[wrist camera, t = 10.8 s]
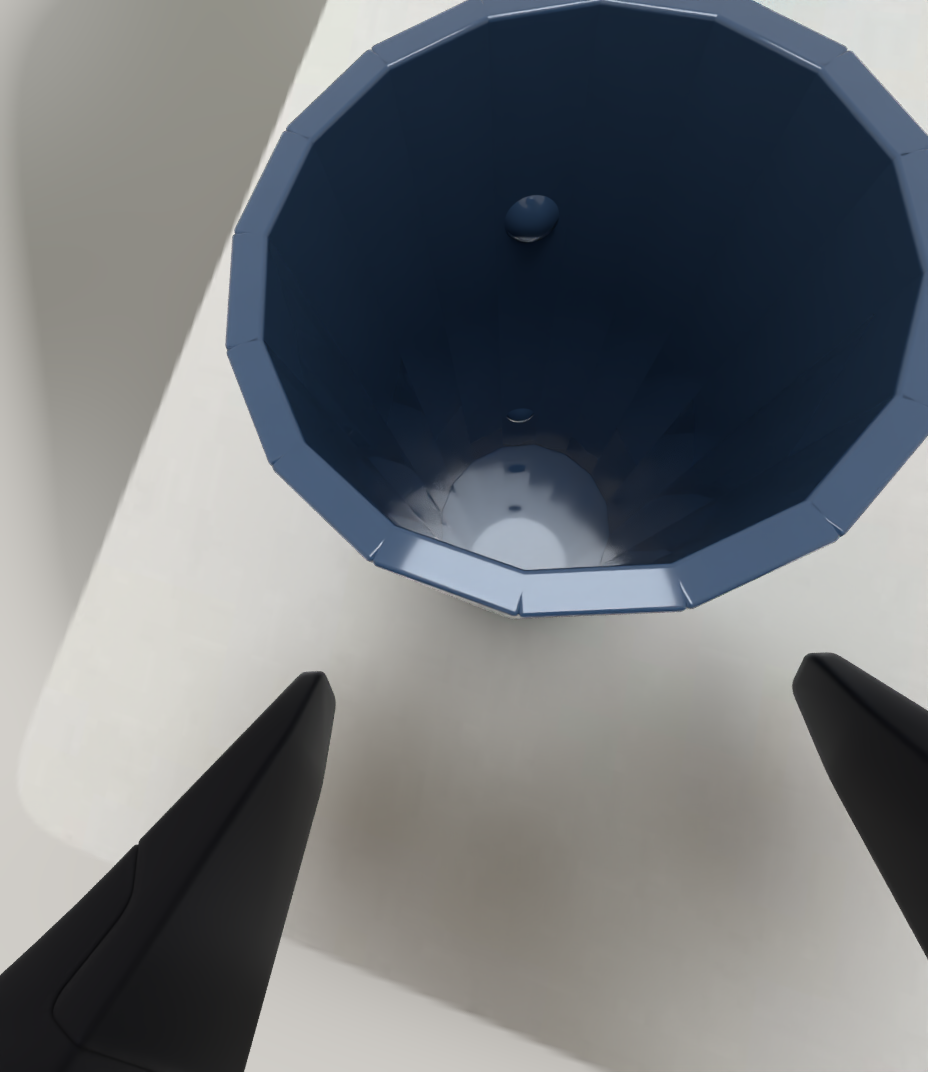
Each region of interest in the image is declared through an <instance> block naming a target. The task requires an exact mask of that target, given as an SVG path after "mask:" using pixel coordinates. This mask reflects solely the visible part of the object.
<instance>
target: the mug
mask: <svg viewBox="0 0 928 1072" xmlns="http://www.w3.org/2000/svg"><path fill="white" fill-rule="evenodd" d="M226 348H227V356H228V358H229V361H230V364H231V366H232V369H233V371H234V374H235V377H236V379H237V382H238V384H239V387H240V390H241V392H242V395H243V397H244V400H245V403H246V405H247V408H248V410H249V413H250V415H251V418H252V421H253V423H254V426H255V428H256V431H257V434H258V436H259V439H260V441H261V444H262V447H263V449H264V452H265V454H266V457H267V460H268V462H269V464H270V465H271V466H272V468H273V470H274V472H275V473H276V474H277V475H278V476H280V477H281V478H282V479H283V480H284V481H285V482H286V483H287V484H288V485H289V486H290V487H291V488H292V489H293V490H294V491H295V492H296V493H297V494H298V495H299V496H300V497H301V498H302V499H303V500H304V501H306V502H307V503H308V504H309V505H310V506H311V507H312V508H313V509H314V510H315V511H316V512H317V513H318V514H319V515H320V516H321V517H322V518H323V519H324V520H325V521H326V522H327V523H328V524H329V525H330V526H331V527H333V528H334V529H335V530H336V531H337V532H338V533H339V534H340V535H341V536H342V537H343V538H344V539H345V540H346V541H347V542H348V543H349V544H350V545H351V546H352V547H353V548H354V549H355V550H356V551H357V552H358V553H360V554H361V555H362V556H363V557H364V558H365V559H366V560H367V561H369V562H372V563H373V564H374V565H375V566H377V567H379V568H382V569H384V570H387V571H389V572H392V573H394V574H397V575H399V576H402V577H404V578H407V579H409V580H412V581H414V582H417V583H419V584H422V585H424V586H427V587H429V588H432V589H434V590H437V591H439V592H442V593H444V594H447V595H449V596H452V597H454V598H457V599H459V600H462V601H464V602H467V603H469V604H472V605H474V606H477V607H480V608H482V609H485V610H488V611H490V612H493V613H496V614H498V615H501V616H504V617H507V618H511V619H522V618H546V617H570V616H594V615H617V614H641V613H665V612H682V611H684V610H685V609H694V608H696V607H698V606H700V605H702V604H705V603H707V602H709V601H711V600H713V599H715V598H717V597H719V596H722V595H724V594H726V593H728V592H730V591H732V590H734V589H736V588H739V587H741V586H743V585H745V584H747V583H749V582H751V581H753V580H756V579H758V578H760V577H762V576H764V575H766V574H768V573H770V572H773V571H775V570H777V569H779V568H781V567H783V566H785V565H787V564H790V563H792V562H794V561H796V560H798V559H800V558H802V557H804V556H807V555H809V554H811V553H813V552H815V551H817V550H819V549H821V548H824V547H826V546H828V545H830V544H832V543H834V542H836V541H837V540H838V539H839V538H840V537H841V536H843V535H845V534H846V533H847V532H848V530H849V529H850V528H851V527H852V526H853V525H854V523H855V522H856V521H857V520H858V519H859V517H860V516H861V515H862V514H863V513H864V511H865V510H866V509H867V508H868V507H869V505H870V504H871V503H872V502H873V501H874V499H875V498H876V497H877V496H878V495H879V493H880V492H881V491H882V490H883V489H884V488H885V486H886V485H887V484H888V483H889V482H890V480H891V479H892V478H893V477H894V476H895V474H896V473H897V472H898V471H899V470H900V468H901V467H902V466H903V465H904V464H905V462H906V461H907V460H908V459H909V458H910V456H911V455H912V454H913V453H914V452H915V450H916V449H917V448H918V447H919V446H920V445H921V443H922V442H923V441H924V440H925V439H926V437H927V436H928V134H927V133H926V132H925V131H924V130H923V129H922V128H921V127H920V126H919V124H918V123H917V122H916V121H915V120H914V119H913V118H912V117H911V116H910V114H909V113H908V112H907V111H906V110H905V109H904V108H903V107H902V106H901V104H900V103H899V102H898V101H897V100H896V99H895V98H894V97H893V96H892V94H891V93H890V92H889V91H888V90H887V89H886V88H885V87H884V86H883V84H882V83H881V82H880V81H879V80H878V79H877V78H876V77H875V76H874V74H873V73H872V72H871V71H870V70H869V69H868V68H867V67H866V66H865V64H864V63H863V62H862V61H861V60H860V59H859V58H858V57H857V56H856V54H855V53H854V52H853V51H847V47H846V46H844V45H842V44H840V43H838V42H836V41H834V40H832V39H830V38H828V37H826V36H824V35H822V34H820V33H818V32H816V31H814V30H812V29H810V28H808V27H806V26H804V25H802V24H800V23H798V22H796V21H794V20H792V19H790V18H787V17H785V16H783V15H781V14H779V13H777V12H775V11H773V10H771V9H769V8H767V7H765V6H763V5H761V4H759V3H757V2H755V1H753V0H466V1H464V2H462V3H460V4H458V5H456V6H454V7H452V8H450V9H448V10H446V11H444V12H442V13H440V14H438V15H435V16H433V17H431V18H429V19H427V20H425V21H423V22H421V23H419V24H417V25H415V26H413V27H411V28H409V29H407V30H405V31H403V32H401V33H399V34H396V35H394V36H392V37H390V38H388V39H386V40H384V41H382V42H380V43H378V44H376V45H374V46H373V47H372V50H367V51H366V52H365V53H363V54H362V55H361V56H360V57H359V58H358V59H357V60H356V61H355V62H354V63H353V64H352V65H351V66H350V67H349V68H348V69H347V70H346V71H345V72H344V73H343V74H341V75H340V76H339V77H338V78H337V79H336V80H335V81H334V82H333V83H332V84H331V85H330V86H329V87H328V88H327V89H326V90H325V91H324V92H323V93H322V94H321V95H320V96H318V97H317V98H316V99H315V100H314V101H313V102H312V103H311V104H310V105H309V106H308V107H307V108H306V109H305V110H304V111H303V112H302V113H301V114H300V115H299V116H298V117H296V118H295V119H294V120H293V121H292V122H291V123H290V124H289V125H288V126H287V128H286V131H284V132H283V133H282V135H281V137H280V139H279V141H278V143H277V145H276V147H275V149H274V151H273V153H272V155H271V157H270V159H269V161H268V163H267V165H266V167H265V169H264V171H263V173H262V175H261V177H260V179H259V181H258V183H257V185H256V187H255V189H254V191H253V193H252V195H251V197H250V199H249V201H248V203H247V205H246V207H245V209H244V211H243V213H242V215H241V217H240V219H239V221H238V223H237V225H236V227H235V234H234V235H233V237H232V253H231V268H230V283H229V299H228V314H227V329H226Z"/></svg>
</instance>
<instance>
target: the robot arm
mask: <svg viewBox="0 0 928 1072" xmlns="http://www.w3.org/2000/svg"><path fill="white" fill-rule="evenodd" d="M792 689H793V694H794V697H795V699H796V702H797V704H798V706H799V709H800V711H801V713H802V716H803V718H804V720H805V723H806V725H807V728H808V730H809V732H810V735H811V737H812V739H813V742H814V744H815V746H816V749H817V751H818V753H819V756H820V758H821V761H822V763H823V765H824V767H825V770H826V772H827V774H828V776H829V778H830V780H831V782H832V784H833V786H834V788H835V790H836V792H837V794H838V796H839V798H840V799H841V801H842V803H843V805H844V807H845V808H846V810H847V812H848V814H849V816H850V818H851V819H852V821H853V823H854V825H855V827H856V829H857V830H858V832H859V834H860V836H861V838H862V840H863V841H864V843H865V845H866V847H867V849H868V851H869V852H870V854H871V856H872V858H873V860H874V862H875V863H876V865H877V867H878V869H879V871H880V873H881V874H882V876H883V878H884V880H885V882H886V884H887V885H888V887H889V889H890V891H891V893H892V895H893V896H894V898H895V900H896V902H897V904H898V906H899V907H900V909H901V911H902V913H903V915H904V917H905V918H906V920H907V922H908V924H909V926H910V928H911V929H912V931H913V933H914V935H915V937H916V939H917V940H918V942H919V944H920V946H921V948H922V950H923V951H924V953H925V955H926V957H927V959H928V711H927V710H926V709H924V708H923V707H921V706H919V705H918V704H916V703H915V702H913V701H911V700H910V699H908V698H907V697H905V696H903V695H902V694H900V693H898V692H897V691H895V690H894V689H892V688H890V687H889V686H887V685H886V684H884V683H882V682H881V681H879V680H878V679H876V678H874V677H873V676H871V675H870V674H868V673H866V672H865V671H863V670H862V669H860V668H858V667H857V666H855V665H853V664H852V663H850V662H849V661H847V660H845V659H844V658H842V657H841V656H839V655H837V654H834V653H810V654H808V655H806V656H805V657H804V659H803V661H802V663H801V665H800V667H799V669H798V671H797V673H796V676H795V678H794V680H793V684H792ZM335 706H336V702H335V696H334V693H333V691H332V689H331V686H330V684H329V681H328V679H327V677H326V675H325V673H323V672H322V671H312V672H304V673H302V674H300V675H299V676H298V677H297V678H296V679H295V680H294V681H293V682H292V683H291V684H290V685H289V686H288V687H287V688H286V689H285V690H284V692H283V693H282V694H281V695H280V696H279V697H278V698H277V699H276V700H275V701H274V702H273V703H272V704H271V705H270V706H269V707H268V708H267V709H266V710H265V711H264V712H263V713H262V714H261V715H260V716H259V717H258V718H257V719H256V720H255V721H254V722H253V724H252V725H251V726H250V727H249V728H248V729H247V730H246V731H245V732H244V733H243V734H242V735H241V736H240V737H239V738H238V739H237V740H236V741H235V742H234V743H233V744H232V745H231V746H230V747H229V748H228V749H227V750H226V751H225V752H224V753H223V755H222V756H221V757H220V758H219V759H218V760H217V761H216V762H215V763H214V764H213V765H212V766H211V767H210V768H209V769H208V770H207V771H206V772H205V773H204V774H203V775H202V776H201V777H200V778H199V779H198V780H197V781H196V782H195V783H194V784H193V785H192V787H191V788H190V789H189V790H188V791H187V792H186V793H185V794H184V795H183V796H182V797H181V798H180V799H179V800H178V801H177V802H176V803H175V804H174V805H173V806H172V807H171V808H170V809H169V810H168V811H167V812H166V813H165V814H164V815H163V816H162V818H161V819H160V820H159V821H158V822H157V823H156V824H155V825H154V826H153V827H152V828H151V829H150V830H149V831H148V832H147V833H146V834H145V835H144V836H143V837H142V838H141V839H140V841H139V844H138V845H134V846H133V847H132V848H131V849H130V850H129V851H128V852H127V853H126V854H125V855H124V857H123V858H122V859H121V860H120V861H119V862H118V863H117V864H116V865H115V866H114V867H113V868H112V869H111V870H110V871H109V872H108V873H107V874H106V875H105V876H104V877H103V878H102V879H101V880H100V881H99V882H98V883H97V884H96V885H95V886H94V887H93V888H92V889H91V890H90V891H89V892H88V893H87V894H86V895H85V896H84V897H83V898H82V899H81V900H80V901H79V902H78V903H77V904H76V905H75V906H74V907H73V908H72V909H71V910H70V911H68V912H67V913H66V914H65V915H64V916H63V917H62V918H61V919H60V920H59V921H58V922H57V923H56V924H55V925H54V926H53V927H52V928H50V929H49V930H48V931H47V932H46V933H45V934H44V935H43V936H42V937H41V938H40V939H39V940H38V941H37V942H36V943H35V944H34V945H32V946H31V947H30V948H29V949H28V950H27V951H26V952H25V953H24V954H23V955H22V956H21V957H20V958H18V959H17V960H16V961H15V962H14V963H13V964H12V965H11V966H10V967H9V968H7V969H6V970H5V971H4V972H3V973H2V974H1V975H0V1072H244V1070H245V1066H246V1062H247V1059H248V1055H249V1052H250V1048H251V1045H252V1041H253V1037H254V1034H255V1030H256V1026H257V1023H258V1019H259V1015H260V1011H261V1008H262V1004H263V1001H264V997H265V993H266V990H267V986H268V982H269V979H270V975H271V972H272V968H273V964H274V961H275V957H276V953H277V949H278V946H279V942H280V939H281V935H282V932H283V928H284V924H285V921H286V917H287V913H288V910H289V906H290V902H291V899H292V895H293V891H294V888H295V884H296V881H297V877H298V873H299V870H300V866H301V862H302V859H303V855H304V851H305V848H306V844H307V840H308V837H309V833H310V830H311V826H312V822H313V819H314V815H315V811H316V808H317V804H318V800H319V796H320V792H321V788H322V784H323V779H324V773H325V768H326V762H327V756H328V750H329V744H330V737H331V731H332V725H333V719H334V713H335Z"/></svg>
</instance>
